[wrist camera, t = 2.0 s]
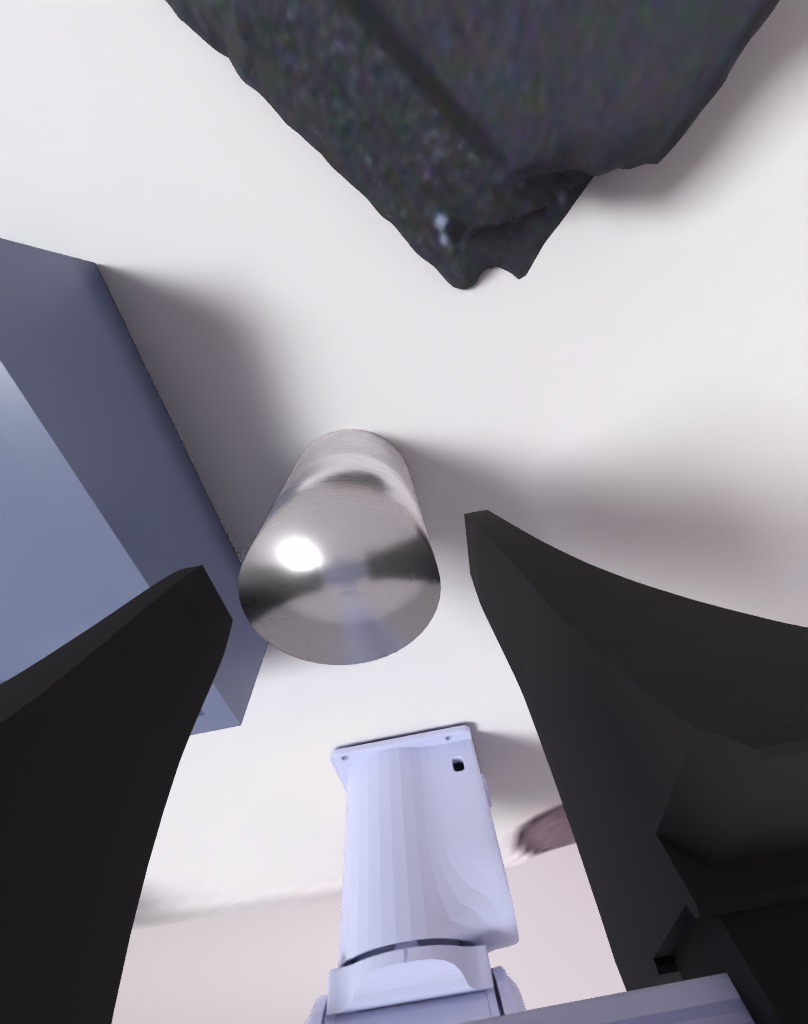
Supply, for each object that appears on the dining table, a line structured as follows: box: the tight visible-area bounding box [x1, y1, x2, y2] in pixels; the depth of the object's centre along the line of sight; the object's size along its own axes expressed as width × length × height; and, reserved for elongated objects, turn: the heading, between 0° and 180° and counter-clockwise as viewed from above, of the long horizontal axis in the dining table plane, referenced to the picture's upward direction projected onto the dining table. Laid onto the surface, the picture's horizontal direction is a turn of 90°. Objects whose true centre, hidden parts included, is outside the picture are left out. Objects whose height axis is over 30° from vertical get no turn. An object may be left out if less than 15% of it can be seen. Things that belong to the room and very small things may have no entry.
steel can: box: [238, 430, 441, 665], centre depth 12 cm, size 5×5×7 cm
